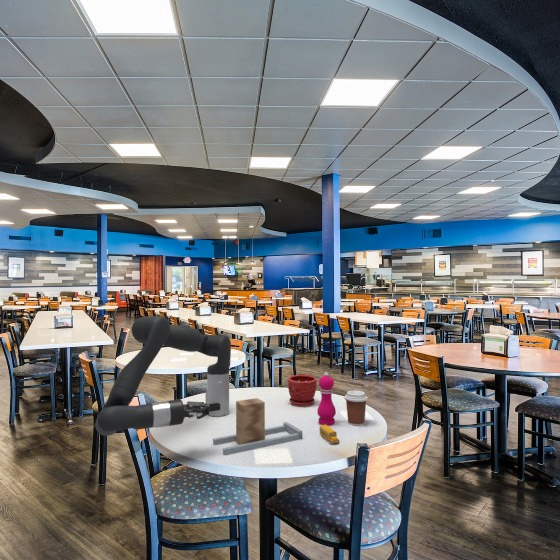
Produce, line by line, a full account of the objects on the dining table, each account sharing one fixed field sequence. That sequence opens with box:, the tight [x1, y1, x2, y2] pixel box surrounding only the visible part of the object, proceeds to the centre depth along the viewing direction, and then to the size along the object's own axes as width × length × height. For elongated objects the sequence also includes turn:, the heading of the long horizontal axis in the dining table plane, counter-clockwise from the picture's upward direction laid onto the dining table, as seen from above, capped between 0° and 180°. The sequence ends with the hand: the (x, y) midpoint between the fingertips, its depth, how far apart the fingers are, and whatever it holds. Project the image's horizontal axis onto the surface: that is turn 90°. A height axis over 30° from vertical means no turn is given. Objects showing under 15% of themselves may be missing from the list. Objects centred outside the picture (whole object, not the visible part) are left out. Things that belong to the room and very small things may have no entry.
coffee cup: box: [343, 389, 369, 427], centre depth 160 cm, size 9×9×12 cm
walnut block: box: [235, 397, 266, 445], centre depth 140 cm, size 8×6×14 cm
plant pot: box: [287, 374, 317, 407], centre depth 188 cm, size 13×13×12 cm
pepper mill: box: [317, 371, 337, 427], centre depth 160 cm, size 7×7×20 cm
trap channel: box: [212, 421, 303, 456], centre depth 141 cm, size 29×11×3 cm, turn 119°
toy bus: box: [319, 425, 340, 446], centre depth 143 cm, size 3×10×4 cm, turn 19°
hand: (219, 406), depth 134 cm, fingers closed
